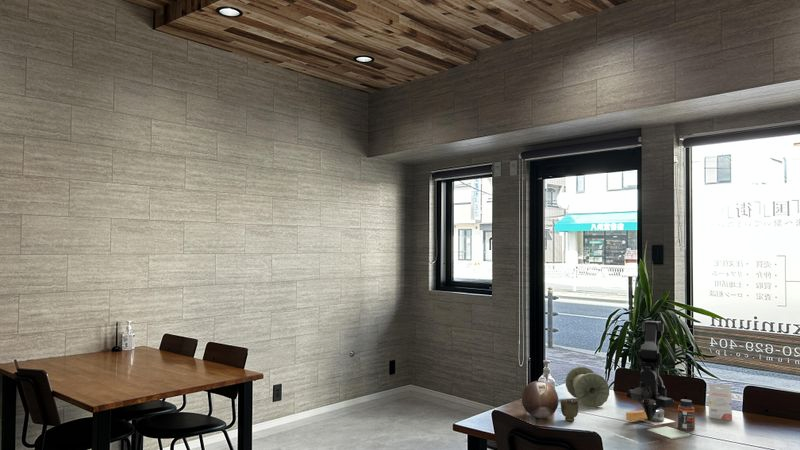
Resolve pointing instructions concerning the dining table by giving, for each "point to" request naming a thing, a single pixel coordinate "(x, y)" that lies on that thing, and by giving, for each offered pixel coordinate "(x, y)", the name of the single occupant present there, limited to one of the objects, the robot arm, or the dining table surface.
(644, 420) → the dial plate
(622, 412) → the dining table surface
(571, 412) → the cup
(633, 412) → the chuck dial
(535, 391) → the wooden sphere
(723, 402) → the ink cartridge box
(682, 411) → the supplement bottle
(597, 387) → the spool
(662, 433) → the green pad
